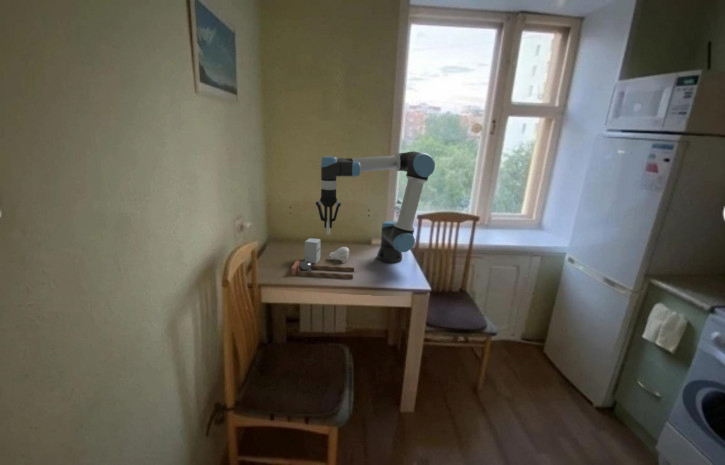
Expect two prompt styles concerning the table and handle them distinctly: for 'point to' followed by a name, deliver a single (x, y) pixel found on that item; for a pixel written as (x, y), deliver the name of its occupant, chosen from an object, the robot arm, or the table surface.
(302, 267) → the cylinder
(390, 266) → the table surface
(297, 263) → the stop block
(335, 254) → the white figurine
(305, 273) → the guide rails
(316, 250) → the supplement box
